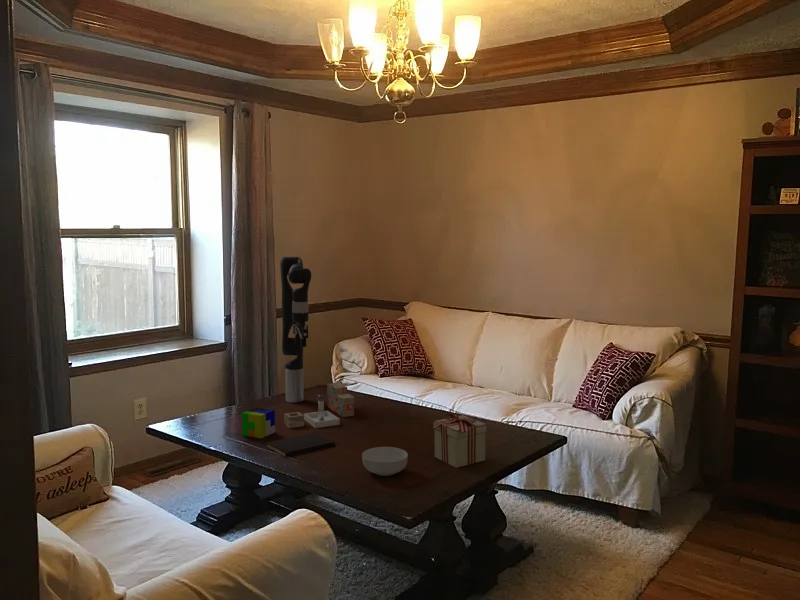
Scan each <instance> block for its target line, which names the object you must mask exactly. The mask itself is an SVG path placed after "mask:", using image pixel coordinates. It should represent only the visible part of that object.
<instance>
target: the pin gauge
mask: <svg viewBox="0 0 800 600" xmlns="http://www.w3.org/2000/svg"><path fill="white" fill-rule="evenodd" d="M324 397H325V396H324V394H318V395H317V405H318V408H317V409H318V410H317V412H318V416H319V421H324V411H325V403H324V402H325V398H324Z"/></svg>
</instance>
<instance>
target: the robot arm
mask: <svg viewBox="0 0 800 600" xmlns="http://www.w3.org/2000/svg"><path fill="white" fill-rule="evenodd" d="M279 267H280V269H279V270H280V282H281V319H282V320H281V321H282V333H281V334H282V337H281V349H282V350H281V351H282V354H283V355H284V356H296V357H295V358H294V359H292V360H290V361H287V362H286V363H285V364H284V369H285V371H284V372H285V379H284V381H285V402H287V403H300V402H303V401H304V357H303V356H304V348H307V339H309V325H307V324H306V322H308V321H309V320H310V319H309V301H308V300H309V299H308V298H309V297H308V294H309V287H310V283H311V280H312V271H311V270H310V269H309V268H305V267H304V264H303V259H302V258H301V257H300V256H282V257H281V258H280V261H279ZM291 284H294V285H296V284H297V285H298V284H299V285H300V284H301V285H302V284H303V285H302V286H301V287H297V288H294V289H293V287H292V285H291ZM291 329H292V332H293V335H294V336H295V337H289V334H290V332H291Z"/></svg>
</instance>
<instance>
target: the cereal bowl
mask: <svg viewBox="0 0 800 600" xmlns="http://www.w3.org/2000/svg"><path fill="white" fill-rule="evenodd" d="M361 459H362V464H363V466H364V468H365V469H366V470H367V471H368V472H370V473H373V474H375V475H377V476H380V477H390V476H393V475H395V474H397V473H399V472H401V471H403V470H404V469H405V468H406V466H407V464H408V461H409V460H408V459H409V454H408V451H406V450H405V449H401V448H399V447H394V446H393V447H392V446H378V447H371V448H369V449H365V451H363V452H362V453H361Z"/></svg>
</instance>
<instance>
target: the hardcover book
mask: <svg viewBox="0 0 800 600" xmlns="http://www.w3.org/2000/svg"><path fill="white" fill-rule="evenodd" d="M335 445H336V443H335V441H334V440H332V439H330V438H327V437H325V436H324V435H321V434H320V433H319V434H318V433H316V432H311V433H306V434H302V435H297V436H292V437H288V438H282V439H278V440H273V441H270V442H266V446H267V448H268V449H271V450H272V451H274V452H276V453H277V454H280V455H281V456H284V457H285V458H288V457H292V456H296V455H301V454H305V453H309V452H314V451H318V450H323V449H328V448H330V447H335Z"/></svg>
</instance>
